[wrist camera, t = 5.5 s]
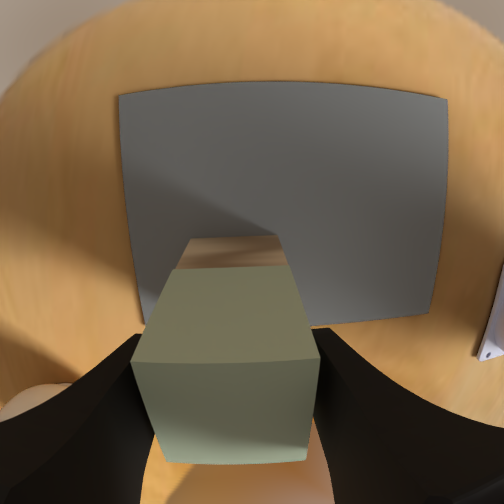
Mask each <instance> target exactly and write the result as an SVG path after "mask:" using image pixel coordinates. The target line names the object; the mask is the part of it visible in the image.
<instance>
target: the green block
mask: <svg viewBox="0 0 504 504" xmlns="http://www.w3.org/2000/svg"><path fill="white" fill-rule="evenodd" d="M130 362H131V366H132V369H133V372H134V375H135V378H136V381H137V384H138V387H139V390H140V393H141V396H142V399H143V402H144V405H145V408H146V411H147V413H148V416H149V419H150V421H151V424H152V427H153V429H154V432H155V434H156V437H157V439H158V442H159V444H160V447H161V449H162V452H163V454H164V456H165V459H166V461H167V462H176V463H193V464H258V463H259V464H260V463H277V462H290V461H300V460H305V459H306V455H307V449H308V443H309V437H310V430H311V424H312V418H313V411H314V404H315V397H316V390H317V382H318V374H319V366H320V355H319V352H318V349H317V346H316V343H315V340H314V337H313V334H312V331H311V328H310V325H309V321H308V318H307V315H306V313H305V310H304V307H303V304H302V301H301V298H300V295H299V292H298V289H297V286H296V283H295V280H294V277H293V274H292V271H291V268H290V266H289V265H280V266H255V267H228V268H199V269H173V270H172V272H171V274H170V276H169V278H168V280H167V282H166V284H165V286H164V288H163V290H162V292H161V295H160V297H159V299H158V301H157V303H156V305H155V307H154V310H153V312H152V314H151V316H150V318H149V320H148V323H147V325H146V327H145V329H144V331H143V334H142V336H141V338H140V340H139V343H138V345H137V347H136V350H135V352H134V354H133V356H132V359H131V361H130Z"/></svg>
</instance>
